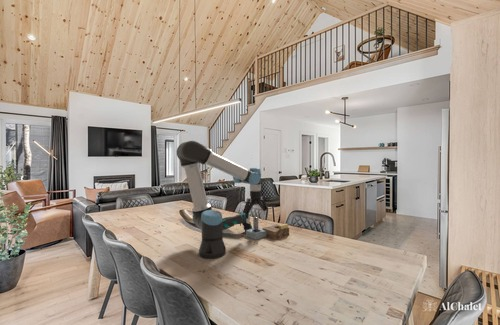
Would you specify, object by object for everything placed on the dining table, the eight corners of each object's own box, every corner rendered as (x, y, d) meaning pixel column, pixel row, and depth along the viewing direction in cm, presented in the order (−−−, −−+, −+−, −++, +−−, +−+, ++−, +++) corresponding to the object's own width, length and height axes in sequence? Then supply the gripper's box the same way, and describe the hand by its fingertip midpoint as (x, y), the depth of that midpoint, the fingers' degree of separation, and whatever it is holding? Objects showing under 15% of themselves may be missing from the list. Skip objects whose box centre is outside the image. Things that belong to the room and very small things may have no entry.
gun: (253, 231, 172) (246, 211, 172) (214, 244, 174) (208, 224, 174) (254, 229, 178) (247, 209, 179) (216, 241, 181) (210, 221, 181)
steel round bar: (255, 237, 164) (255, 218, 163) (252, 236, 166) (252, 217, 166) (259, 236, 166) (259, 217, 166) (256, 235, 168) (256, 216, 168)
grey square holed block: (255, 239, 159) (255, 233, 159) (245, 236, 167) (245, 230, 167) (266, 236, 165) (266, 230, 165) (257, 233, 173) (256, 227, 173)
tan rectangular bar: (281, 229, 163) (280, 225, 163) (278, 228, 164) (278, 225, 164) (288, 227, 167) (288, 224, 167) (286, 226, 169) (285, 223, 169)
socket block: (274, 239, 159) (274, 231, 159) (262, 235, 168) (262, 227, 168) (289, 235, 168) (289, 227, 168) (276, 231, 177) (276, 224, 177)
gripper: (244, 192, 155) (244, 225, 155) (272, 189, 170) (272, 219, 171) (237, 191, 161) (237, 223, 161) (265, 188, 176) (265, 217, 177)
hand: (255, 221), depth 166 cm, fingers open, 13 cm apart
